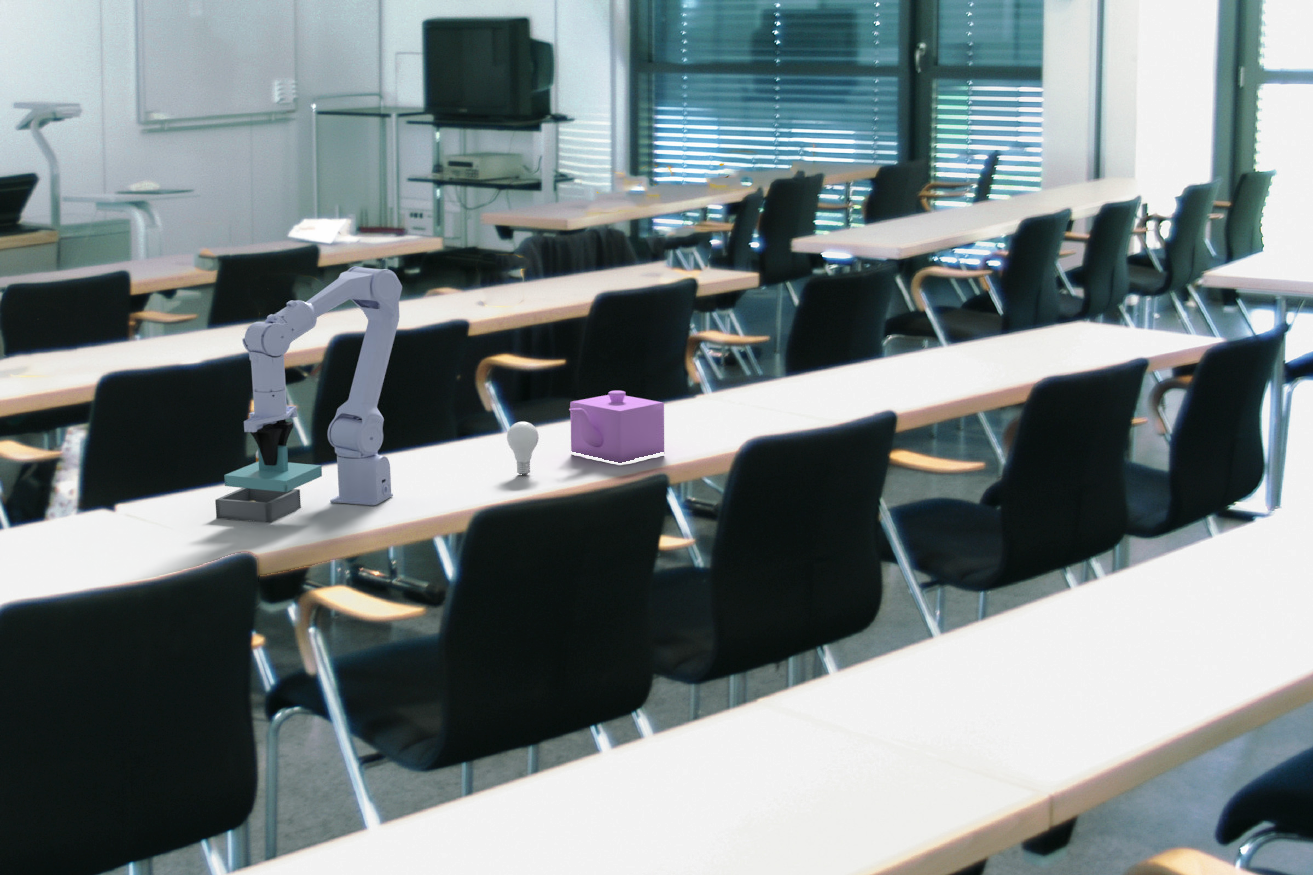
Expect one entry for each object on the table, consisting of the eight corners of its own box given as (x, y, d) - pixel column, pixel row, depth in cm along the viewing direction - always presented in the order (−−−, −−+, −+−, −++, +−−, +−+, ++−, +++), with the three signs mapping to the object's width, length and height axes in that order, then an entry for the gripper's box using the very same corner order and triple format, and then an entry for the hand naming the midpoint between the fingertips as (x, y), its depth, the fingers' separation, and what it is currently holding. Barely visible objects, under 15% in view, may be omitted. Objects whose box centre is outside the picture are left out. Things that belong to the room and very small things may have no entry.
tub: (300, 507, 292) (299, 489, 291) (269, 522, 282) (268, 503, 281) (248, 503, 295) (247, 485, 294) (216, 518, 285) (215, 499, 284)
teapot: (546, 461, 329) (544, 395, 326) (630, 442, 346) (630, 380, 343) (595, 472, 318) (594, 405, 316) (680, 452, 336) (680, 388, 333)
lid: (321, 476, 286) (320, 441, 285) (286, 492, 275) (284, 456, 273) (262, 470, 290) (260, 436, 288) (224, 486, 278) (223, 450, 277)
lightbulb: (502, 477, 315) (500, 423, 312) (516, 470, 320) (515, 417, 318) (530, 479, 312) (529, 426, 310) (544, 472, 318) (543, 419, 316)
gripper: (271, 381, 287) (275, 453, 289) (227, 395, 273) (231, 471, 276) (305, 383, 284) (309, 456, 287) (262, 397, 271) (267, 473, 274)
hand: (273, 463), depth 281 cm, fingers closed on lid
